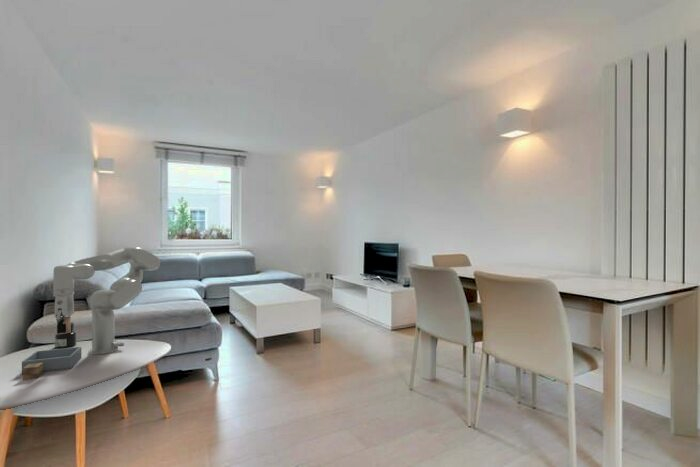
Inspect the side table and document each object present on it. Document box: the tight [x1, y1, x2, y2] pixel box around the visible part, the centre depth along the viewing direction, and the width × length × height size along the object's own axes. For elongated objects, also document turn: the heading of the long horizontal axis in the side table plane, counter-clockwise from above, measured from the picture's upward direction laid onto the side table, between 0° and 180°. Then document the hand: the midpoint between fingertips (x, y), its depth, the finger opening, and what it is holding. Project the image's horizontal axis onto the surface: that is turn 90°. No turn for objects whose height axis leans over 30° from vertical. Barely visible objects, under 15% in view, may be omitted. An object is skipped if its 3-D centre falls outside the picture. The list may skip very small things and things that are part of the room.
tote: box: [21, 346, 82, 375], centre depth 162 cm, size 17×14×6 cm
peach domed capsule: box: [56, 316, 71, 334], centre depth 163 cm, size 5×5×7 cm
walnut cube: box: [22, 363, 44, 381], centre depth 150 cm, size 5×5×5 cm
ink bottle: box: [54, 322, 77, 349], centre depth 190 cm, size 10×9×12 cm
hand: (63, 330), depth 163 cm, fingers closed on peach domed capsule, 5 cm apart
